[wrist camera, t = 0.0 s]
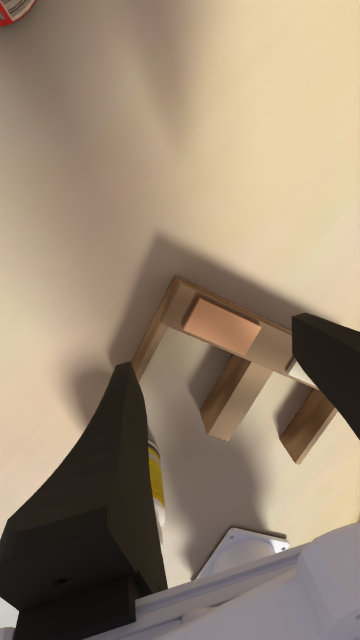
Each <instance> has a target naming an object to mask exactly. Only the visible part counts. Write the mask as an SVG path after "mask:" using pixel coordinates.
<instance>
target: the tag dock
mask: <svg viewBox="0 0 360 640" xmlns="http://www.w3.org/2000/svg"><path fill="white" fill-rule="evenodd" d="M167 326H168V327H171V328H173V329H175V330H178V331H180V332H182V333H185V334H187V335H190V336H192V337H194V338H197V339H199V340H201V341H204V342H206V343H208V344H211V345H213V346H216V347H218V348H220V349H223V350H225V351H227V352H230V353H232V354H233V355H232V357H231V359H230V361H229V362H228V364H227V366H226V367H225V369H224V371H223V373H222V374H221V376H220V378H219V379H218V381H217V383H216V385H215V386H214V388H213V390H212V391H211V393H210V395H209V397H208V398H207V400H206V402H205V403H204V405H203V407H202V409H201V410H200V414H201V417H202V420H203V423H204V426H205V429H206V432H207V435H209V436H213V437H216V438H219V439H222V440H225V441H228V442H229V440H230V439H231V437H232V435H233V434H234V432H235V431H236V429H237V428H238V426H239V424H240V423H241V421H242V420H243V418H244V416H245V415H246V413H247V412H248V410H249V408H250V407H251V405H252V404H253V402H254V401H255V399H256V397H257V396H258V394H259V393H260V391H261V389H262V388H263V386H264V385H265V383H266V382H267V380H268V378H269V377H270V375H271V374H272V372H273V371H275V372H277V373H279V374H282V375H284V376H287V377H289V378H291V379H294V380H296V381H298V382H301V383H303V384H305V385H308V386H310V387H313V388H314V389H313V391H312V392H311V394H310V395H309V397H308V398H307V400H306V401H305V403H304V404H303V406H302V407H301V409H300V410H299V411H298V413H297V414H296V416H295V417H294V419H293V420H292V422H291V423H290V425H289V426H288V428H287V429H286V431H285V432H284V434H283V435H282V436H281V438H280V441H281V442H282V444H283V445H284V447H285V449H286V450H287V452H288V453H289V455H290V456H291V458H292V459H293V461H294V462H295V463H296V464H299V465H300V463H301V462H302V461H303V459H304V458H305V456H306V455H307V454H308V452H309V451H310V450H311V448H312V447H313V445H314V444H315V443H316V441H317V440H318V438H319V437H320V436H321V434H322V433H323V431H324V430H325V429H326V427H327V426H328V424H329V423H330V422H331V420H332V419H333V418H334V416H335V415H336V413H337V412H338V410H337V409H336V408H335V407H334V406H333V404H332V403H331V402H330V401H329V400H328V399H327V398H326V397H325V395H324V394H323V393H322V392H321V391H320V390H319V389H318V387H317V386H316V385H315V384H314V383H313V382H312V381H311V379H310V378H309V377H308V376H307V375H306V374H305V372H304V371H303V370H302V368H301V367H300V365H299V364H298V362H297V361H296V359H295V357H294V356H293V354H292V331H290V330H288V329H286V328H284V327H282V326H280V325H278V324H276V323H274V322H272V321H270V320H267V319H265V318H263V317H261V316H259V315H257V314H255V313H253V312H251V311H249V310H247V309H245V308H242V307H240V306H238V305H236V304H234V303H232V302H230V301H228V300H226V299H224V298H222V297H219V296H217V295H215V294H213V293H211V292H209V291H207V290H205V289H203V288H201V287H199V286H197V285H194V284H192V283H190V282H188V281H186V280H184V279H182V278H180V277H178V276H176V275H175V276H174V278H173V280H172V282H171V284H170V286H169V288H168V290H167V292H166V294H165V296H164V298H163V300H162V302H161V304H160V306H159V308H158V310H157V312H156V314H155V316H154V318H153V320H152V322H151V324H150V326H149V328H148V330H147V332H146V334H145V336H144V338H143V340H142V343H141V345H140V347H139V349H138V351H137V353H136V355H135V357H134V359H133V361H132V363H131V364H132V366H133V369H134V372H135V374H136V377H137V380H138V383H139V381H140V379H141V377H142V375H143V373H144V371H145V369H146V367H147V365H148V364H149V362H150V360H151V358H152V356H153V354H154V352H155V350H156V348H157V346H158V344H159V342H160V340H161V338H162V336H163V334H164V332H165V330H166V328H167Z"/></svg>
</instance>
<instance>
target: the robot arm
mask: <svg viewBox="0 0 360 640" xmlns="http://www.w3.org/2000/svg"><path fill="white" fill-rule="evenodd" d="M292 354H293V356H294V357H295V359H296V361H297V362H298V364H299V365H300V367H301V368H302V370H303V371H304V372H305V374H306V375H307V376H308V377H309V378H310V379H311V381H312V382H313V383H314V384H315V385H316V386H317V387H318V389H319V390H320V391H321V392H322V393H323V394H324V395H325V397H326V398H327V399H328V400H329V401H330V402H331V403H332V404H333V406H334V407H335V408H336V409H337V410H338V411H339V413H340V414H341V415H342V416H343V418H344V419H345V420H346V422H347V423H348V424H349V426H350V427H351V429H352V430H353V431H354V433H355V434H356V436H357V437H358V438H359V440H360V332H359V331H356V330H353V329H350V328H347V327H344V326H341V325H339V324H336V323H333V322H330V321H328V320H325V319H322V318H319V317H317V316H314V315H311V314H307V313H302V314H299V315H295V316H292ZM289 545H290V544H289V542H288V540H286V539H281V538H277V537H273V536H268V535H264V534H260V533H255V532H251V531H247V530H242V529H238V528H231V529H230V530H229V531H228V532H227V534H226V535H225V537H224V538H223V540H222V541H221V543H220V544H219V545H218V547H217V548H216V550H215V551H214V553H213V554H212V556H211V557H210V558H209V560H208V561H207V563H206V564H205V566H204V567H203V569H202V570H201V571H200V573H199V574H198V576H197V577H196V579H195V580H194V581H191V582H188V583H185V584H182V585H179V586H176V587H172V588H169V589H168V586H167V580H166V575H165V569H164V563H163V557H162V551H161V545H160V539H159V533H158V527H157V520H156V514H155V507H154V501H153V494H152V487H151V480H150V469H149V449H148V427H147V414H146V408H145V402H144V397H143V394H142V391H141V388H140V385H139V383H138V380H137V377H136V374H135V372H134V369H133V366H132V364H131V361H130V362H127V363H123V364H120V365H117V366H116V367H115V369H114V372H113V374H112V377H111V380H110V382H109V384H108V387H107V389H106V391H105V393H104V396H103V398H102V400H101V402H100V404H99V406H98V408H97V410H96V412H95V413H94V415H93V417H92V419H91V421H90V423H89V424H88V426H87V428H86V429H85V431H84V432H83V434H82V436H81V437H80V439H79V440H78V442H77V443H76V444H75V446H74V447H73V449H72V450H71V451H70V453H69V454H68V455H67V456H66V458H65V459H64V460H63V462H62V463H61V464H60V466H59V467H58V468H57V469H56V470H55V471H54V473H53V474H52V475H51V476H50V477H49V478H48V479H47V481H46V482H45V483H44V484H43V485H42V486H41V487H40V488H39V489H38V490H37V491H36V492H35V493H34V495H33V496H31V497H30V498H29V499H28V500H27V501H26V502H25V503H24V504H23V505H22V506H21V507H20V508H19V509H18V510H17V511H16V512H15V513H14V514H13V515H12V516H11V517H10V518H9V519H8V520H7V523H6V526H5V529H4V531H3V534H2V536H1V540H0V597H1V598H2V599H4V600H5V601H6V602H8V603H9V604H11V605H12V606H13V607H15V608H16V609H17V610H19V615H18V620H17V624H16V628H13V627H5V628H0V640H360V521H359V522H356V523H353V524H350V525H347V526H344V527H341V528H338V529H335V530H332V531H330V532H328V533H326V534H323V535H321V536H319V537H317V538H315V539H314V540H313V541H312V542H309V543H306V544H303V545H300V546H297V547H294V548H291V549H288V550H287V548H288V547H289Z"/></svg>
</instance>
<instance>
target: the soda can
mask: <svg viewBox="0 0 360 640" xmlns="http://www.w3.org/2000/svg"><path fill="white" fill-rule="evenodd" d="M35 1H36V0H0V27H2V26H6V25H9V24H12V23H14V22H16V21H17V20H19V19H20V18H22V17H23V16H24V15H25V14H26V13H27V12H28V11H29V10H30V9H31V7H32V6H33V5H34V3H35Z"/></svg>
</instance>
